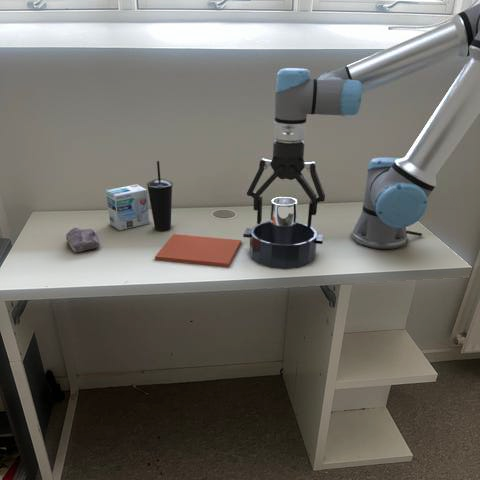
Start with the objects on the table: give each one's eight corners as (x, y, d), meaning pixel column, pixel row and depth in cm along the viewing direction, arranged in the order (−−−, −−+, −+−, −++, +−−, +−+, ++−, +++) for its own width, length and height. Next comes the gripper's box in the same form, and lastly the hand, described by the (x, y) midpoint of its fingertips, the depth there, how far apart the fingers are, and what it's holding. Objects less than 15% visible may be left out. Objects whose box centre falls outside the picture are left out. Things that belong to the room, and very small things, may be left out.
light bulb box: (119, 231, 151) (115, 195, 145) (109, 224, 155) (104, 190, 150) (150, 223, 157) (147, 189, 151) (140, 217, 161) (136, 183, 155)
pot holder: (241, 243, 144) (241, 240, 143) (228, 267, 131) (228, 263, 130) (174, 237, 147) (173, 233, 147) (155, 259, 134) (154, 256, 134)
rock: (91, 235, 147) (89, 220, 145) (103, 250, 139) (101, 234, 137) (63, 241, 144) (60, 226, 142) (73, 256, 136) (70, 240, 133)
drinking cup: (171, 233, 150) (166, 165, 139) (146, 231, 151) (140, 163, 140) (178, 224, 156) (175, 158, 145) (155, 222, 157) (149, 157, 147)
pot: (323, 245, 143) (325, 223, 140) (318, 272, 129) (321, 248, 125) (250, 238, 147) (251, 217, 143) (238, 264, 132) (238, 241, 129)
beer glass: (273, 261, 134) (275, 206, 126) (266, 250, 140) (267, 197, 132) (298, 258, 135) (301, 204, 127) (290, 248, 141) (292, 195, 133)
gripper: (235, 140, 121) (235, 225, 132) (340, 146, 117) (330, 233, 128) (242, 133, 127) (241, 215, 138) (341, 139, 123) (331, 223, 134)
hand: (284, 224), depth 133 cm, fingers open, 12 cm apart
